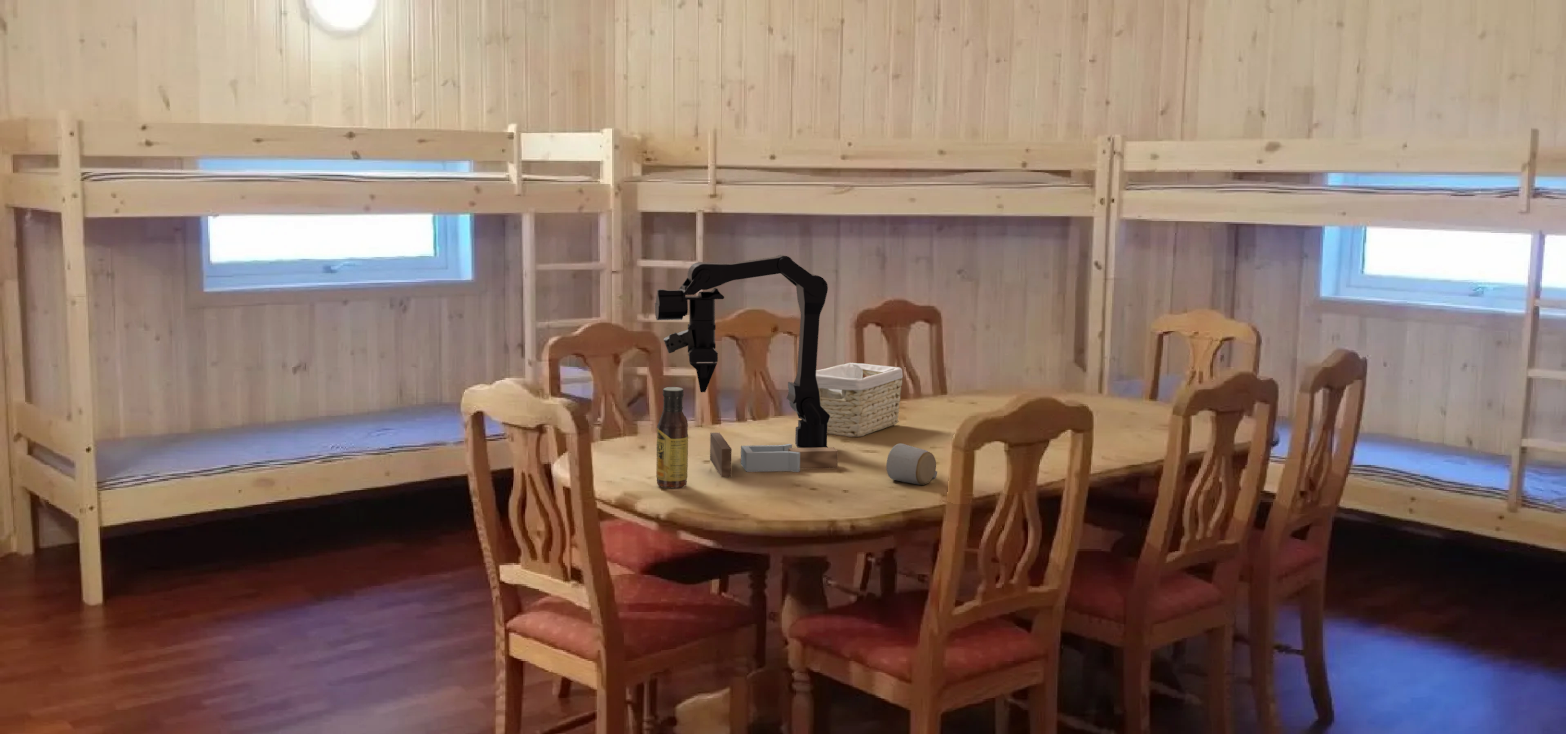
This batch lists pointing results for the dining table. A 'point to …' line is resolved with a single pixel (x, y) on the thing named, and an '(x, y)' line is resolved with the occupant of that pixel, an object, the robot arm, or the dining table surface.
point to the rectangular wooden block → (817, 457)
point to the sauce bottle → (672, 441)
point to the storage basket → (859, 397)
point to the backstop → (720, 454)
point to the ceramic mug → (911, 464)
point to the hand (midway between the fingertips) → (702, 388)
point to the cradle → (769, 458)
